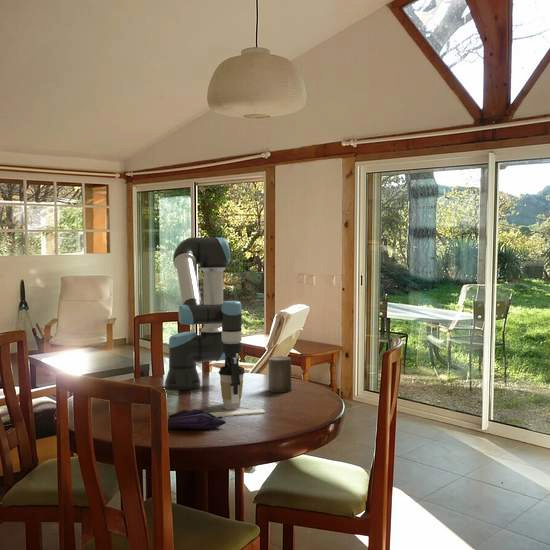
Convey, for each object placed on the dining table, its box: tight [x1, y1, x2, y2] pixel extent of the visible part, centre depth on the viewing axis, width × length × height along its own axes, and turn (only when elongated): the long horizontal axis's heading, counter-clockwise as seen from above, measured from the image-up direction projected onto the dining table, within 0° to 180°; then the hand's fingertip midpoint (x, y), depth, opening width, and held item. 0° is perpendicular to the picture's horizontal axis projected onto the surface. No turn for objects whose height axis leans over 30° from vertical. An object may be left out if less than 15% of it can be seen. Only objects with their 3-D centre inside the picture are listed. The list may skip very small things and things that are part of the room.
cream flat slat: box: [209, 408, 266, 418], centre depth 223 cm, size 4×24×1 cm, turn 105°
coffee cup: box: [218, 365, 245, 410], centre depth 233 cm, size 10×10×15 cm
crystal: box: [167, 408, 226, 430], centre depth 207 cm, size 7×12×20 cm
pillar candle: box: [268, 355, 292, 393], centre depth 261 cm, size 10×10×15 cm
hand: (231, 398), depth 233 cm, fingers open, 12 cm apart
